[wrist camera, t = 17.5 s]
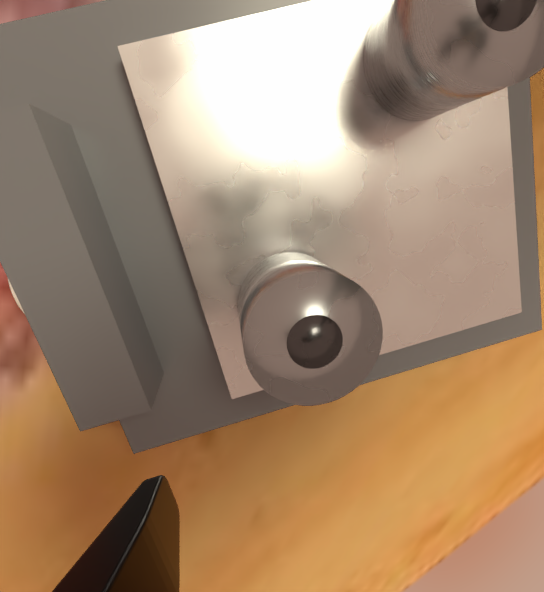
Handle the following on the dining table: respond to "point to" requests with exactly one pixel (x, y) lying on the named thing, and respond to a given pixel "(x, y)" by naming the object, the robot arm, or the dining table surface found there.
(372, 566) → the dining table surface
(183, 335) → the kitchen scale
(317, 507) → the dining table surface
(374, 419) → the dining table surface
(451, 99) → the cylinder
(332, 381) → the steel spacer
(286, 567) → the dining table surface
